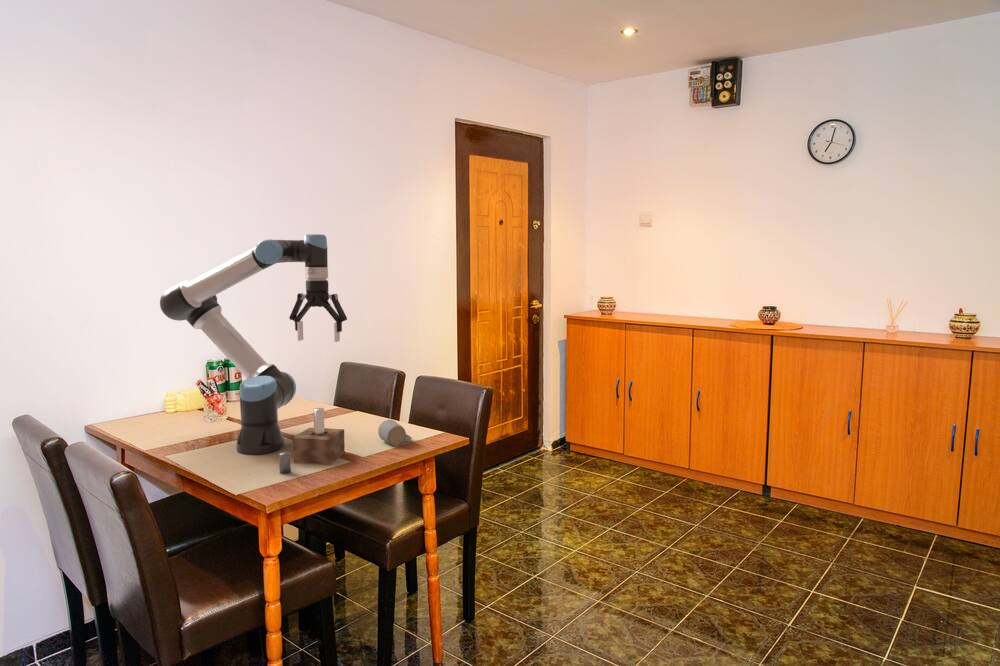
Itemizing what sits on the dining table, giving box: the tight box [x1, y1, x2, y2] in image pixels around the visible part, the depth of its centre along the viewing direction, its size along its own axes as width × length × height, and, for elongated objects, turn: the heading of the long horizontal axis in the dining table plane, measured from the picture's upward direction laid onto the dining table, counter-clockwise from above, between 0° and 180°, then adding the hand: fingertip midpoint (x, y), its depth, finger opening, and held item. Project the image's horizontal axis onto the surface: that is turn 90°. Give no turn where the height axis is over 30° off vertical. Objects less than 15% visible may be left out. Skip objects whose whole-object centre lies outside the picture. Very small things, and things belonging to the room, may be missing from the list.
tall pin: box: [313, 407, 325, 436], centre depth 214 cm, size 3×3×16 cm
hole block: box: [292, 427, 346, 466], centre depth 215 cm, size 12×12×8 cm
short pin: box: [278, 450, 292, 475], centre depth 201 cm, size 3×3×6 cm
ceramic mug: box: [377, 419, 413, 446], centre depth 232 cm, size 11×8×8 cm
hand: (318, 340), depth 233 cm, fingers open, 13 cm apart
